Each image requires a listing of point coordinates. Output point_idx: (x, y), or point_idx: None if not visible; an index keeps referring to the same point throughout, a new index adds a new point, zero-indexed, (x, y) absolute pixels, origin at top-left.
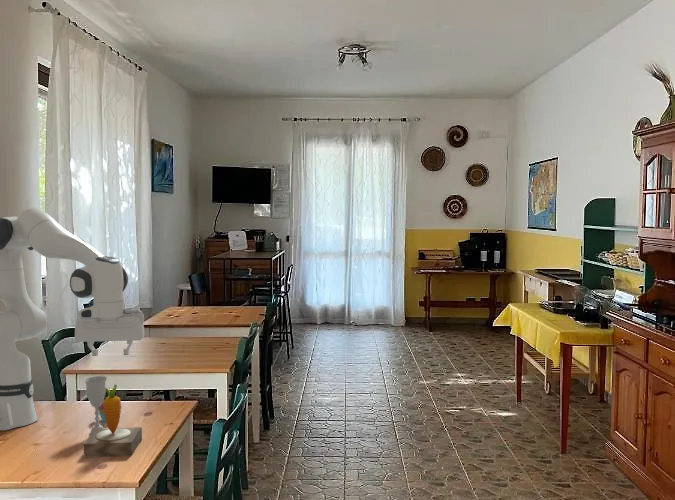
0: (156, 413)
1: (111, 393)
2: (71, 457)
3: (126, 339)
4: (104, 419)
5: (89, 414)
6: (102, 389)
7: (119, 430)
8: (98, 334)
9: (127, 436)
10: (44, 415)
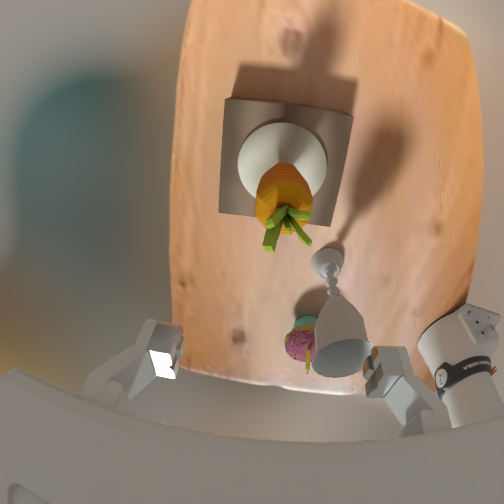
0: (223, 335)
1: (283, 210)
2: (373, 120)
3: (98, 412)
4: (316, 319)
5: None
6: (323, 327)
7: None
8: (385, 499)
9: (242, 145)
10: None
